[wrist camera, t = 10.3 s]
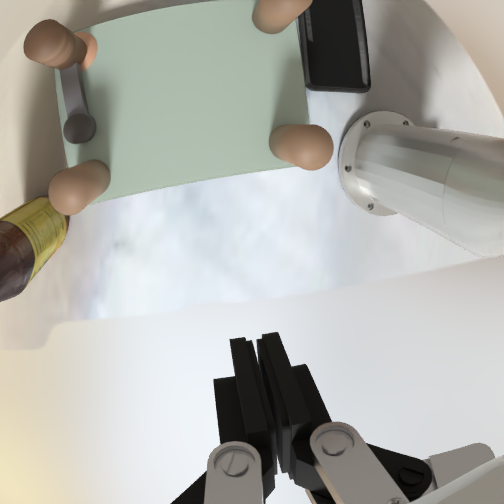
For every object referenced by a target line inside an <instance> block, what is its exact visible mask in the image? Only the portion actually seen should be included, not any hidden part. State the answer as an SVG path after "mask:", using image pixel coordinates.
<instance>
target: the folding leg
mask: <svg viewBox="0 0 504 504" xmlns="http://www.w3.org/2000/svg"><path fill="white" fill-rule="evenodd" d="M24 53H25V55H26V57H27V58H28V59H30V60H33V61H36V62H39V63H42V64H45V65H47V66H50V67H53V68H56V69H58V70H59V71H60V78H61V84H62V90H63V96H64V102H65V107H66V113H67V118H68V119H67V120H66V122H65V124H64V127H63V134H64V137H65V139H66V140H67V141H68V142H69V143H71V144H80V143H85V142H88V141H90V140H91V139H92V138H93V136H94V135H95V133H96V122H95V120H94V118H93V117H92V116H90V115H89V111H88V106H87V101H86V96H85V90H84V85H83V79H82V72H81V66H80V64H81V63H82V62H83V60H84V59H85V57H86V53H87V46H86V43H85V42H84V41H83V40H82V39H81V38H79V37H78V36H77V35H75V34H74V33H72V32H71V31H70V30H68V29H67V28H65V27H64V26H63V25H61V24H60V23H58V22H57V21H55V20H51V19H48V20H44V21H41V22H39V23H38V24H36V25H35V26H34V27H33V28H32V29H31V30H30V31H29V33H28V34H27V36H26V38H25V41H24Z"/></svg>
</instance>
